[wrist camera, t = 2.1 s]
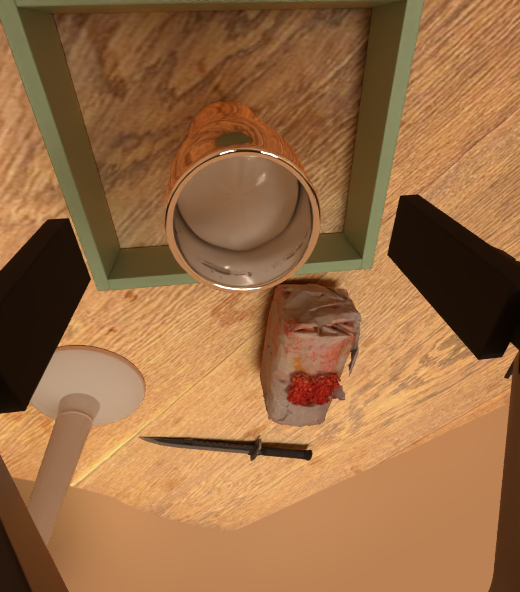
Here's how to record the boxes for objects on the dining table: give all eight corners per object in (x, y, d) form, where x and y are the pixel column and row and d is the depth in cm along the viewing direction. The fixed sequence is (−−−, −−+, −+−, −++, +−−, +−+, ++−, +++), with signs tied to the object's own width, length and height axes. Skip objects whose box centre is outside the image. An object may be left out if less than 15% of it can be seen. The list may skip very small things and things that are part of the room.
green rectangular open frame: (28, -8, 20) (-16, -21, 16) (390, -13, 22) (430, -26, 18) (112, 259, 31) (97, 291, 27) (352, 241, 33) (372, 268, 29)
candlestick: (-4, 364, 36) (-420, 995, 12) (110, 331, 36) (-93, 933, 12) (67, 430, 44) (-104, 900, 20) (163, 404, 43) (106, 860, 19)
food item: (267, 272, 34) (285, 343, 26) (345, 274, 35) (385, 342, 27) (254, 370, 42) (265, 447, 34) (318, 369, 43) (343, 442, 35)
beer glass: (204, 202, 29) (202, 316, 17) (164, 115, 25) (123, 181, 13) (284, 172, 28) (340, 268, 16) (256, 77, 24) (303, 110, 12)
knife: (135, 455, 48) (137, 436, 45) (138, 442, 49) (140, 423, 46) (304, 469, 53) (317, 453, 50) (303, 456, 54) (315, 441, 51)
